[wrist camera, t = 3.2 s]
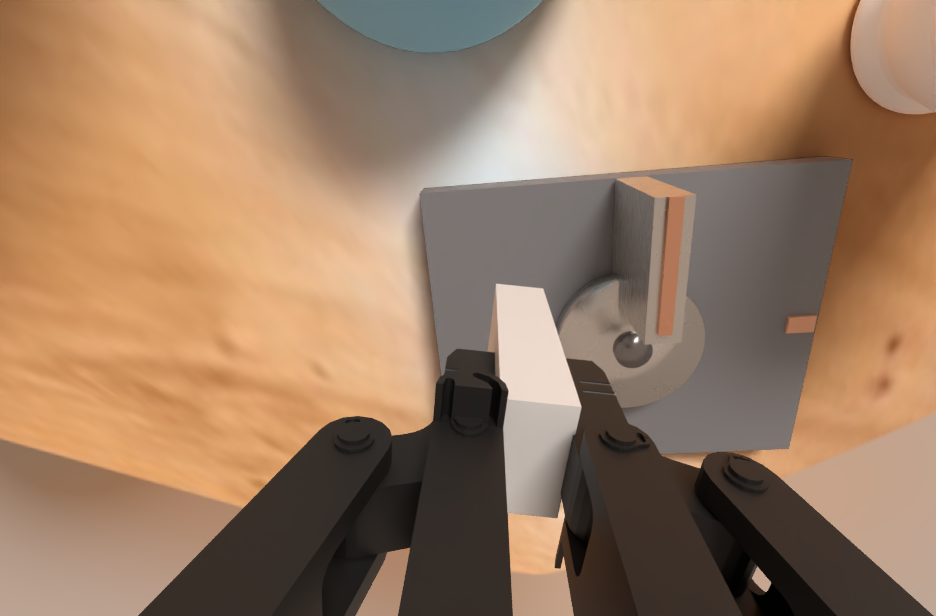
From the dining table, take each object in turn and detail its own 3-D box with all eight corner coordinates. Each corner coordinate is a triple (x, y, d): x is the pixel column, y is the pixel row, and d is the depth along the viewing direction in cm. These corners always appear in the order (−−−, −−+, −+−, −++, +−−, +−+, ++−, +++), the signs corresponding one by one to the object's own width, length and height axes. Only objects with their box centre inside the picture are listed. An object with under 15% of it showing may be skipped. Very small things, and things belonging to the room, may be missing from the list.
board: (453, 444, 33) (451, 465, 31) (423, 188, 27) (418, 194, 25) (771, 429, 32) (790, 450, 30) (825, 156, 25) (855, 159, 23)
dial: (686, 390, 29) (737, 458, 23) (555, 396, 29) (572, 465, 23) (711, 171, 24) (784, 188, 18) (552, 183, 24) (573, 204, 18)
